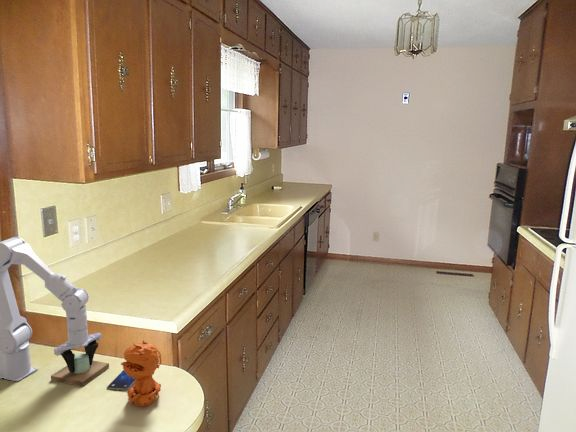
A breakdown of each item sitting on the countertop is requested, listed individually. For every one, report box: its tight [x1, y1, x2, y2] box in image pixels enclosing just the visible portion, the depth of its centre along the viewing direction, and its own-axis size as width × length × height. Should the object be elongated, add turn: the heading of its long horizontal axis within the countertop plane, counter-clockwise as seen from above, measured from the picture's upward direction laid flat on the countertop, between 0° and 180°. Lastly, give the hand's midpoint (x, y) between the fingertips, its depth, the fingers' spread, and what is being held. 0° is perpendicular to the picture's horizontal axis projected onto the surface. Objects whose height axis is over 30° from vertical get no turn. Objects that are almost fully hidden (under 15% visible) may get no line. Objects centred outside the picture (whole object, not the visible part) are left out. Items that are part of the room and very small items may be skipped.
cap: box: [73, 352, 90, 374], centre depth 142 cm, size 5×5×4 cm
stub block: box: [50, 360, 110, 387], centre depth 142 cm, size 12×12×4 cm
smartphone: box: [106, 369, 136, 392], centre depth 140 cm, size 7×1×15 cm
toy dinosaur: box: [120, 340, 162, 407], centre depth 126 cm, size 11×11×18 cm
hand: (80, 367), depth 142 cm, fingers closed on cap, 5 cm apart
